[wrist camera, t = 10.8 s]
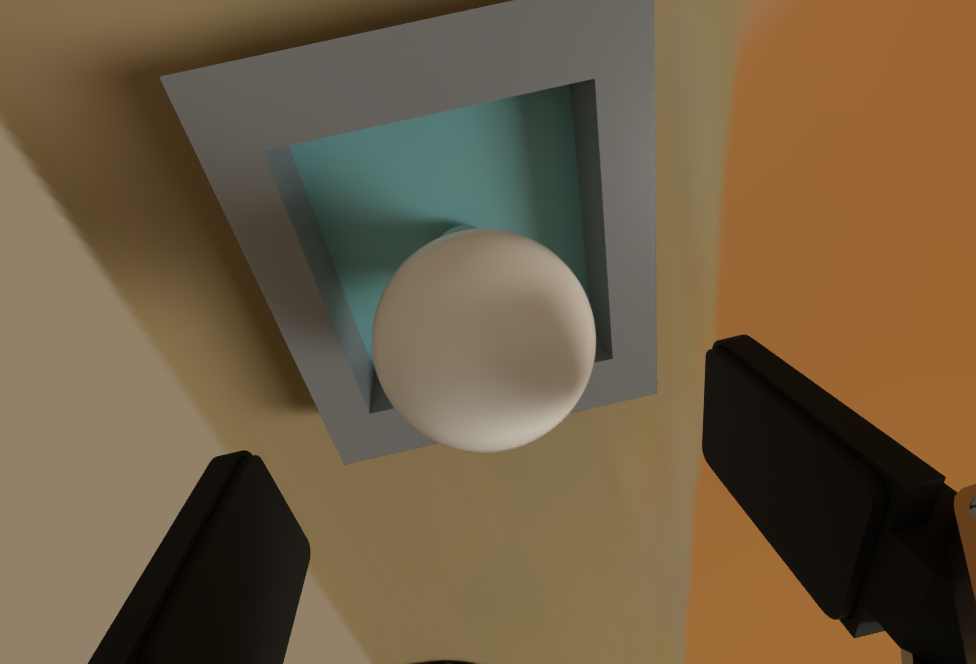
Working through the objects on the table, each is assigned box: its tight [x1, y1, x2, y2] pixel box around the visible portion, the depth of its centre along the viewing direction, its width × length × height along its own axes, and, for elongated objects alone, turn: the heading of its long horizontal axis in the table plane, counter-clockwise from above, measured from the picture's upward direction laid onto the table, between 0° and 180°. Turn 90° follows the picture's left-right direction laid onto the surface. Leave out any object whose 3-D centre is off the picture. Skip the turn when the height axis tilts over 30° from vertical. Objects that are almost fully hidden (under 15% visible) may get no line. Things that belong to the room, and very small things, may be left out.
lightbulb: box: [372, 226, 596, 453], centre depth 15 cm, size 6×6×11 cm
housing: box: [159, 0, 657, 465], centre depth 19 cm, size 16×15×4 cm
